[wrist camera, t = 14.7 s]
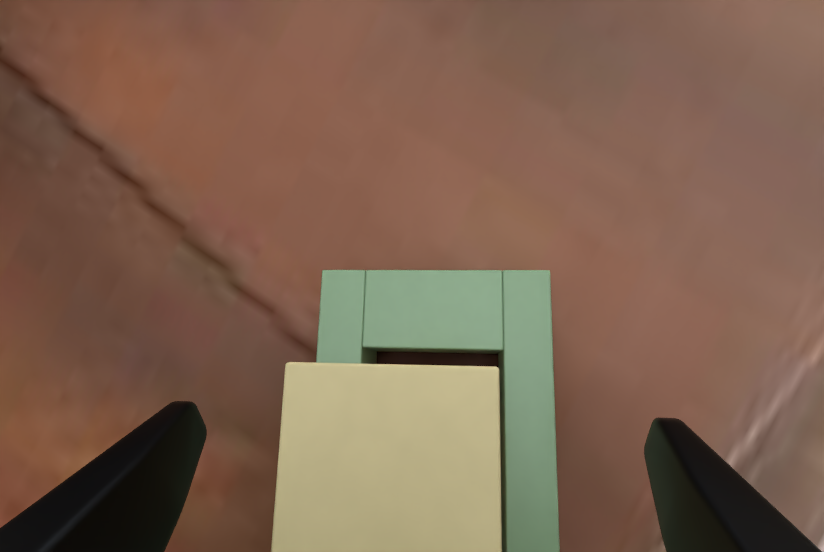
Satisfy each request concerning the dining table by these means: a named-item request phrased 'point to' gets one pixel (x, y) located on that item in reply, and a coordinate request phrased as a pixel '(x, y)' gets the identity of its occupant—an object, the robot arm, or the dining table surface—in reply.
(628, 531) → the dining table surface
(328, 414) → the beige rectangular block
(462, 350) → the base
